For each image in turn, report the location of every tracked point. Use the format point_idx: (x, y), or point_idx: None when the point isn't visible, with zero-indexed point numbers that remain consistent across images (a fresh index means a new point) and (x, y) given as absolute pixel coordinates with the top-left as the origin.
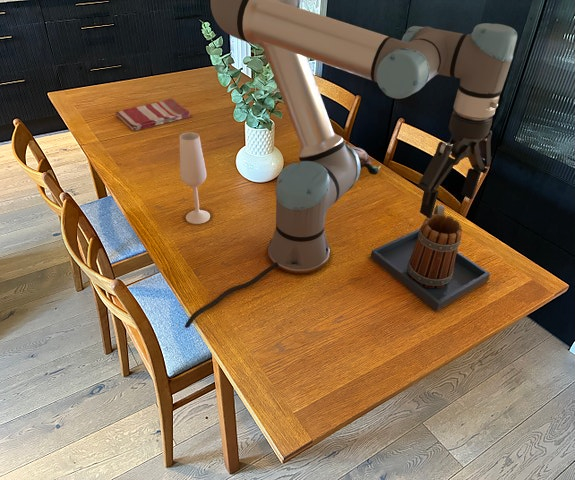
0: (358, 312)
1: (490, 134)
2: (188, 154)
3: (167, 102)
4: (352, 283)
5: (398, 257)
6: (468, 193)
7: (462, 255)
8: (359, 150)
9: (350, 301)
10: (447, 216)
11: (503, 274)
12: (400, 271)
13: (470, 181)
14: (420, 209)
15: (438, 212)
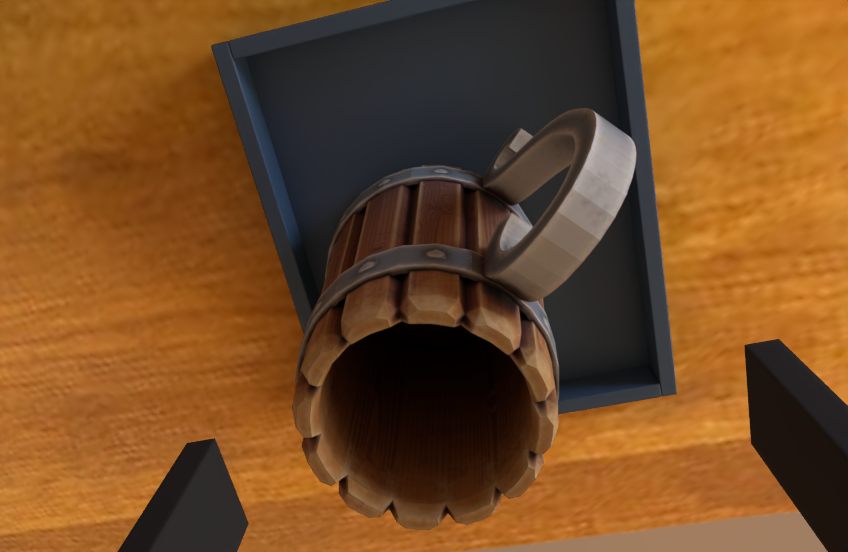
0: (51, 333)
1: None
2: None
3: None
4: (76, 182)
5: (366, 103)
6: (768, 438)
7: (655, 252)
8: None
9: (36, 273)
10: (523, 361)
11: None
12: (284, 244)
13: (840, 513)
14: (176, 463)
15: (514, 268)
